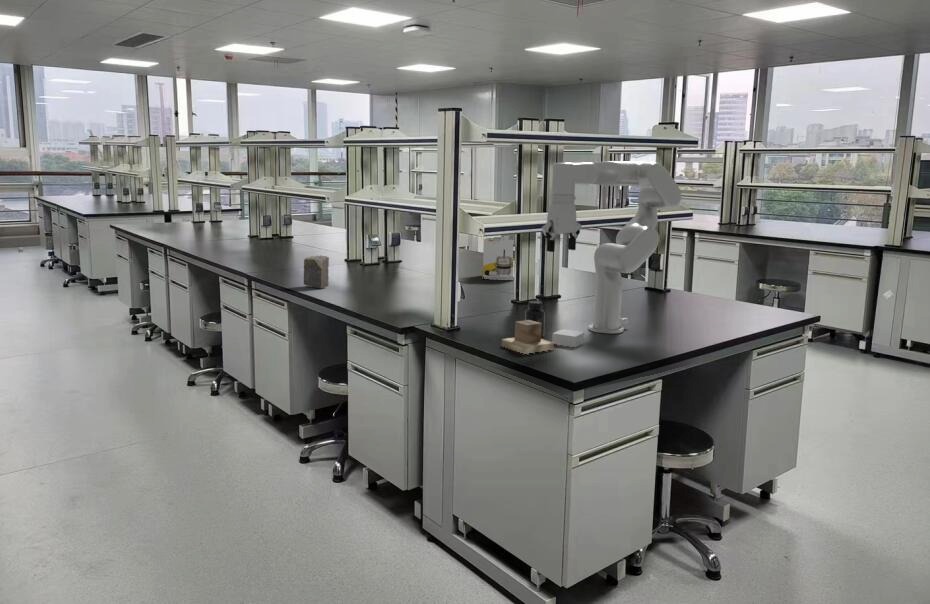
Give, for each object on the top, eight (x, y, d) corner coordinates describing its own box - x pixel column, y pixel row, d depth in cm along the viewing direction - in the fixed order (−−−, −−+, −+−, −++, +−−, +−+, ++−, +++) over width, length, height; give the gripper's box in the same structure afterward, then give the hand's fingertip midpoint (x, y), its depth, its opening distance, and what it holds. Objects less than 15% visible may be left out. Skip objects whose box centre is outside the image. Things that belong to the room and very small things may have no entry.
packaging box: (482, 280, 365) (483, 231, 361) (483, 275, 381) (484, 229, 377) (513, 281, 365) (515, 232, 360) (513, 276, 381) (514, 230, 376)
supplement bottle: (542, 333, 248) (544, 300, 246) (545, 338, 241) (546, 304, 239) (523, 333, 248) (524, 300, 246) (525, 338, 241) (526, 303, 239)
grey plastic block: (561, 340, 241) (562, 329, 240) (583, 343, 236) (584, 332, 236) (552, 345, 234) (552, 333, 233) (574, 348, 230) (575, 336, 229)
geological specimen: (303, 287, 331) (302, 255, 328) (312, 285, 336) (311, 254, 333) (321, 289, 326) (320, 257, 323) (329, 287, 331) (329, 256, 328)
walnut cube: (528, 337, 232) (529, 319, 231) (540, 341, 227) (541, 323, 226) (514, 339, 228) (515, 321, 227) (526, 343, 223) (527, 325, 222)
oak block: (529, 343, 236) (530, 335, 235) (553, 351, 226) (554, 342, 226) (501, 348, 229) (501, 339, 229) (524, 356, 220) (524, 347, 219)
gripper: (574, 198, 244) (572, 248, 248) (536, 200, 234) (534, 251, 238) (589, 199, 238) (587, 250, 242) (551, 201, 228) (549, 253, 232)
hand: (561, 250), depth 240 cm, fingers open, 9 cm apart
